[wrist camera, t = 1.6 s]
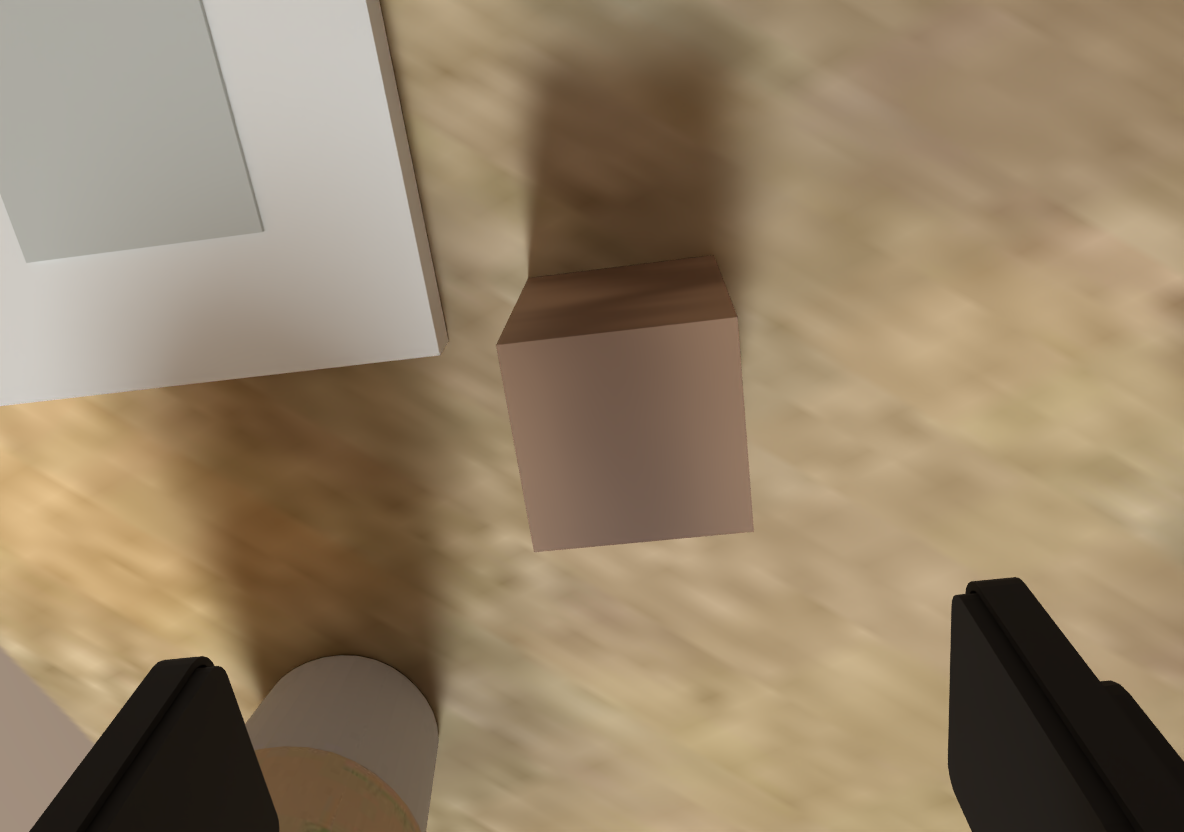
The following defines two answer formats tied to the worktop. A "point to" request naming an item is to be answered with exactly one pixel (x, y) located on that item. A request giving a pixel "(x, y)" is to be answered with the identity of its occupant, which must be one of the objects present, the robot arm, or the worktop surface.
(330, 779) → the coffee cup
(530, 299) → the block walnut
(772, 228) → the worktop surface
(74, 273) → the plate
